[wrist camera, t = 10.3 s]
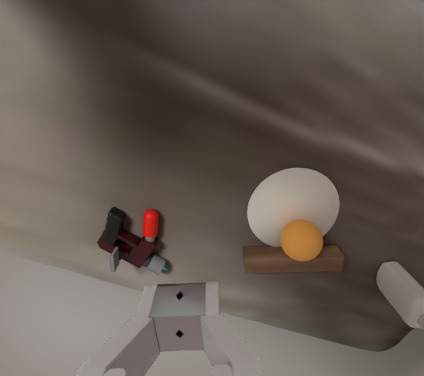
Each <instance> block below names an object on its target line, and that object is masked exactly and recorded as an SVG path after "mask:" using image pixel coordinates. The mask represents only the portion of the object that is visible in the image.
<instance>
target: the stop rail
mask: <svg viewBox="0 0 424 376" xmlns="http://www.w3.org/2000/svg"><path fill="white" fill-rule="evenodd" d="M344 258H345V257H344V255H343V254H342V252H341V251H340V250H339V248H338V247H337V246H336V244H333V245H323V246H322V249H321V251H320V253H319V254H318V255H317V256H316V257H315V258H313V259H311V260H309V261H297V260H294V259H292V258H290V257H289V256H288V255H287V254H286V253H285V252H284V250H283V249H282V247H272V246H255V247H243V263H244V270H245V273H282V272H324V271H342V268H343V263H344Z"/></svg>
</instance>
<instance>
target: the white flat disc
mask: <svg viewBox="0 0 424 376" xmlns="http://www.w3.org/2000/svg"><path fill="white" fill-rule="evenodd" d="M339 205H340V203H339V196H338V192H337V190H336V188H335V186H334V184H333V183H332V182H331V181H330V180H329V179H328V178H327V177H326V176H324V175H323V174H321V173H320V172H317V171H315V170H312V169H308V168H289V169H284V170H281V171H278V172H276V173H274V174H272V175H270V176H269V177H267V178H266V179H265V180H263V181H262V182H261V183H260V184H259V185H258V186H257V188H256V189H255V190H254V192H253V193H252V195H251V197H250V200H249V203H248V208H247V217H248V222H249V225H250V228H251V229H252V231H253V233H254V234H255V235H256V236H257V237H258V238H259V239H260V240H261V241H262V242H264V243H266V244H267V245H270V246H272V247H281V243H280V236H281V232H282V230H283V228H284V227H285V226H286V225H287V224H288V223H290V222H292V221H295V220H306V221H309V222H311V223H313V224H314V225H315V226H316V227H317V228H318V229H319V230H320V232H321V234H322V237H323V236H324V235H325V234H326V233H327V232H328V231H329V230H330V229H331V227H332V226H333V224H334V223H335V221H336V218H337V216H338V212H339Z"/></svg>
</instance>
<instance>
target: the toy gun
mask: <svg viewBox="0 0 424 376" xmlns="http://www.w3.org/2000/svg"><path fill="white" fill-rule="evenodd" d="M124 218H125V213H124V212H123V211H121V210H119V209H118V208H116V207H113V208H112V209H111V210H110V211H109V213H108V218H107V223H106V228H105V230H104V232H103V234H102V235H101V237H100V239H99V240H98V242H97V243H98V245H99V247H100V248H101V249H103V250H105V251H107V252H109V253H111V256H110V264H111V272H115V271H116V269H117V267H118V265H119V263H120V262H119V260H121V259H123V260H125V261H127V262H129V263H131V264H133V265H135V266H137V267H139V268H140V267H141V266H142V265H143V266H145V267H146V269H148V270H150V271H152V272H154V273H156V274H159V273H160V272H161V271H162V270H167V269H166V268H165V267H164V265H165V263H166V259H164V258H162V257H160V256H158V255H156V254H151V252H152V250H153V249H154V247H155V246H156V244H157V241H158V237H155V236H156V235H157V234H158V219H159V215H158V212H157V211H156V210H153V209H149V210H147V211H146V212H145V213H144V220H143V237H142V238H141V239H140V237H138V236H136V235H134V234H133V233H131V232H129V231H127V230H125V229H123V228H122V227H123V222H124ZM118 238H119V239H118ZM120 239H121V240H123V241H125V242H127V243H128V244H127V243H125V242H123V241H121V240H120ZM129 244H130V245H129ZM131 245H132V246H131Z"/></svg>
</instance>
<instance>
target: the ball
mask: <svg viewBox="0 0 424 376" xmlns="http://www.w3.org/2000/svg"><path fill="white" fill-rule="evenodd" d="M280 243H281V247H282V249H283V250H284V252H285V253H286V254H287V255H288V256H289V257H290V258H292V259H294V260H297V261H309V260H311V259H313V258H315V257H316V256H317V255H318V254H319V253H320V251H321V249H322V246H323V237H322V234H321V232H320V230H319V229H318V228H317V227H316V226H315V225H314V224H313V223H311V222H309V221H306V220H295V221H292V222H290V223H288V224H287V225H286V226H285V227H284V228H283V230H282V232H281V236H280Z"/></svg>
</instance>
